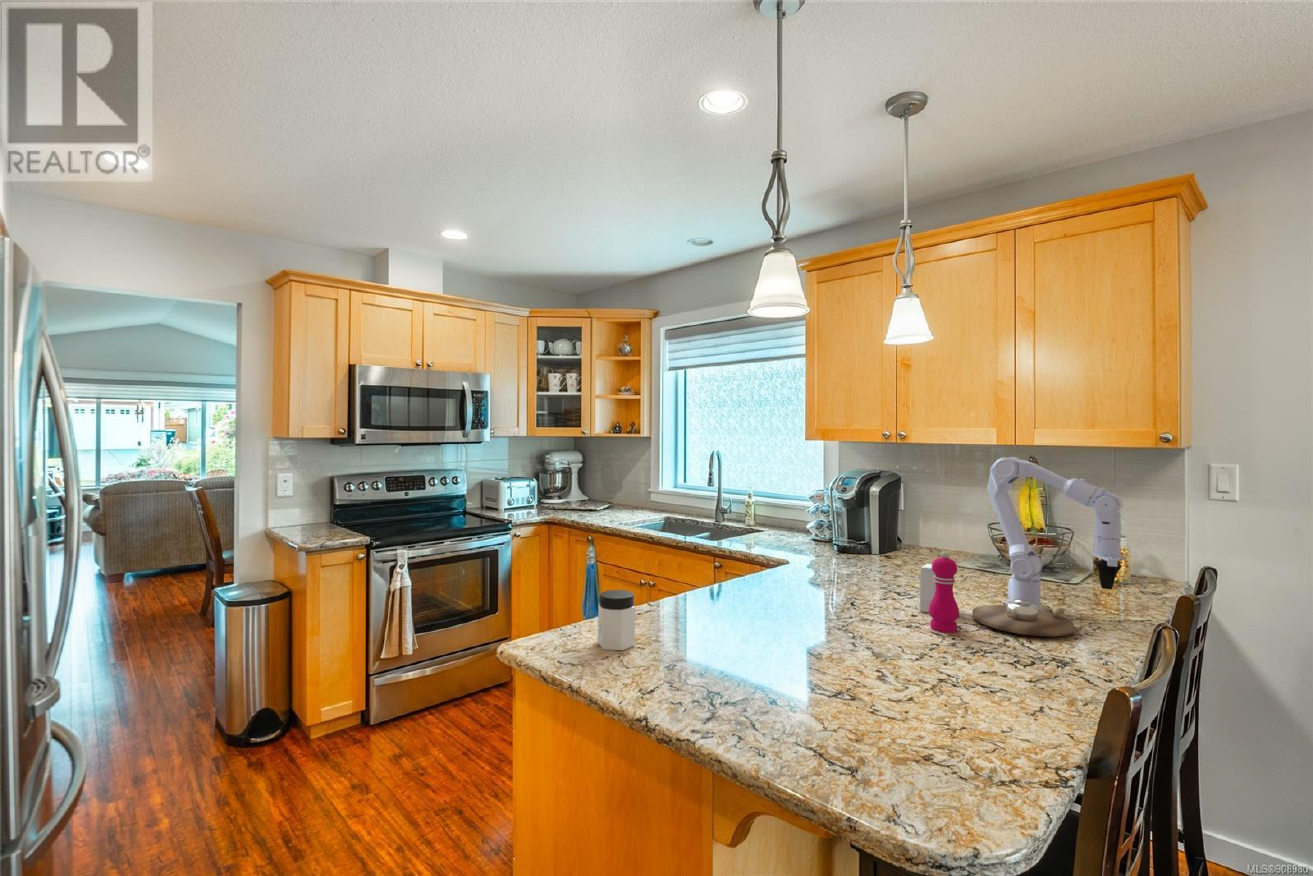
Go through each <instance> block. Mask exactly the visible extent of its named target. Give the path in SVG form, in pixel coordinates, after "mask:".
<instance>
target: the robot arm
mask: <svg viewBox="0 0 1313 876" xmlns="http://www.w3.org/2000/svg"><path fill="white" fill-rule="evenodd" d="M989 472H990V473H989V476H988V477H989V478H988V481H987V486H986V489H987V490H986V491H987V493H988V497H989V498H990V502H991V504H992V506H993V509H994V512H995V515H996V516H997V519H998V522H999V525H1000V527H1001V530H1002V532H1003V535H1004V538H1005V540H1006V543H1007V546H1008V556H1009V560H1010V566H1009V568H1010V572H1011V573H1012V574H1011V577H1010V578H1009V580H1008V583H1007V586H1008V587H1007V600H1006V601H1005V600H1004V604H1006V605H1007V602H1008V601H1014V600H1015V599H1025V600H1029V601H1030V603H1033V604H1035V605H1037V606H1038V610H1042V611H1046V610H1045V609H1043V608H1042V607H1041V600H1042V599H1041V595H1042V594H1041V593H1042V591H1041V589H1042V586H1041V585H1042V577H1040V574H1039V573H1040V572H1041V571H1042V570H1043V561H1042V559H1041V558H1040V557H1039V556H1038V555H1037V554H1036V552H1035V551H1034V548H1033V547H1032V546H1031V544H1030V543H1029V541H1028V539H1027V537H1026V535H1025V534H1026V533H1025V531H1024V528H1023V527H1022V524H1021V522H1020V519H1019V516H1018V514H1017V511H1016V508H1015V506H1014V503H1013V500H1012V498H1011V496H1010V493H1009V490H1010V489H1011V486H1013V484H1014V482H1015V481H1016V480H1017V479H1019V478H1034V479H1035V480H1038V481H1041V482H1043V483H1045V484H1047V485H1050V486H1052V487H1055V488H1057V489H1060V490H1061V491H1062V492H1063V495H1064V496H1065V497H1066V498H1067V499H1071V500H1072V501H1074V502H1077V503H1079V504H1081V505H1083V506H1086V507H1088V508H1093V510H1094V512H1095V514H1094V515H1095V518H1094V528H1093V529H1094V531H1093V534H1094V535H1093V552H1092V556H1093V557H1095V558H1097V559H1100V560H1097V559H1096V560H1092V563H1093V564H1094V567H1095V568H1096V570H1097V573H1098V574H1097V575H1098V579H1099V584H1100V587H1101V588H1102V589H1103V590H1113V586H1114V583H1115V580H1116V576H1117V574H1118V572H1119V571H1120V570H1121V568H1122V565H1121V563H1120V562H1119V561H1120V560H1121V559H1124V560H1126V559H1127V555H1124V554H1121V547H1122V546H1121V539H1122V522H1121V518H1122V517H1121V512H1120V511H1121V510H1122V508H1123V499H1122V498H1121V497H1120V496H1119V495H1118V494H1117V493H1115V492H1113V491H1106V488H1104V487H1100V488H1099V487H1098V486H1096V485H1092V484H1090V483H1089V482H1087V479H1085V478H1080V479H1079V478H1076V477H1074V478H1071V479H1068V478H1065V477H1063V476H1062V475H1060V474H1057V473H1055V472H1053V471H1051V470H1049V469H1047V468H1045V467H1042V466H1040V465H1038V464H1036V463H1033V462H1031V461H1028V460H1025V459H1021V458H1019V457H1016V456H1009V457H1000V458H997V460H996V461H994V463H993V464H992V465H991V467H990V469H989Z"/></svg>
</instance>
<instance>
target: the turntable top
mask: <svg viewBox="0 0 1313 876" xmlns="http://www.w3.org/2000/svg"><path fill="white" fill-rule="evenodd" d="M1052 611H1053V612H1050V611H1049V612H1048V611H1046V610H1045V611H1042V610H1038V620H1037V621H1034V622H1026V621H1019V620H1014V619H1011V618H1009V617H1007V604H1006V605H1002V604H995V605H994V604H990V605H989V604H987V605H981V606H977V607H974V608H973V609H972V615H971V616H972V618H973V619H974V620H975V621H977V622H979V623H980V624H982V625H984V626H987V627H990V628H992V629H996V630H1000V631H1003V632H1008V633H1014V634H1019V635H1026V636H1027V635H1028V636H1035V637H1062V636H1068V635H1071V634H1073V633H1074V632H1075V624H1074V622H1072V621H1071V620H1070V619H1069V618H1066V617H1065V608H1064V607H1061V606H1060V607H1059V606H1054V607H1053V610H1052Z"/></svg>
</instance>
